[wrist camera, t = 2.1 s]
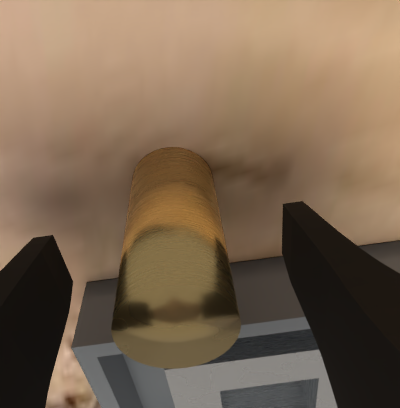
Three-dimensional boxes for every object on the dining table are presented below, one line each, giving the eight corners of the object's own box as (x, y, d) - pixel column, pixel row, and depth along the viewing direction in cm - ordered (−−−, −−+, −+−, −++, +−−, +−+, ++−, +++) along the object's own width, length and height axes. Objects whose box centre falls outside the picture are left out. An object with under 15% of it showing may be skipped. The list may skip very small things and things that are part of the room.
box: (417, 238, 18) (466, 295, 15) (374, 393, 26) (401, 451, 23) (86, 282, 18) (71, 348, 15) (143, 424, 26) (140, 485, 23)
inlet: (350, 297, 18) (373, 342, 16) (334, 396, 23) (350, 440, 21) (164, 322, 18) (164, 369, 16) (188, 415, 24) (190, 461, 21)
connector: (208, 142, 14) (237, 276, 9) (216, 210, 16) (243, 359, 10) (124, 153, 14) (96, 295, 9) (141, 221, 16) (127, 375, 10)
